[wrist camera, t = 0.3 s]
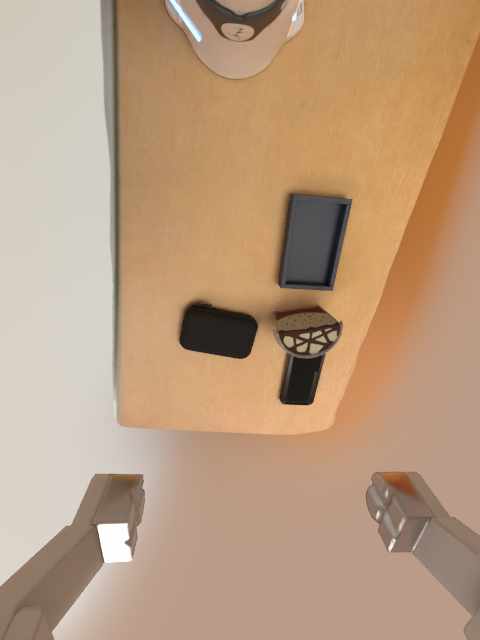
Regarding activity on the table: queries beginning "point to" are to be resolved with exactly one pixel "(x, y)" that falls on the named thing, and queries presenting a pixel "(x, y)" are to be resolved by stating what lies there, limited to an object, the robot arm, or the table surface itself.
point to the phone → (301, 380)
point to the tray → (313, 242)
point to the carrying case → (217, 332)
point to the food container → (306, 331)
